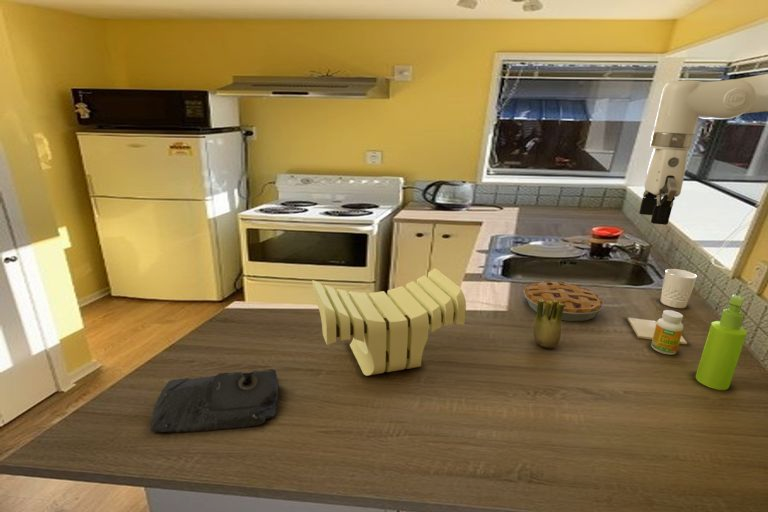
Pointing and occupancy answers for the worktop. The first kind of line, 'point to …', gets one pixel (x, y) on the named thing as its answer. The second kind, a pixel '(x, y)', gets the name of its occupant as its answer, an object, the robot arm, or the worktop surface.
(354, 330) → the slatted curved stool
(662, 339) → the supplement bottle
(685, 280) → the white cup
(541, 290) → the pie
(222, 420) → the dark slate chunk
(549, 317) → the fennel bulb
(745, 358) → the worktop surface
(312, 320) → the worktop surface
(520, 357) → the worktop surface
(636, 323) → the coaster
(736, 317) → the soap dispenser
